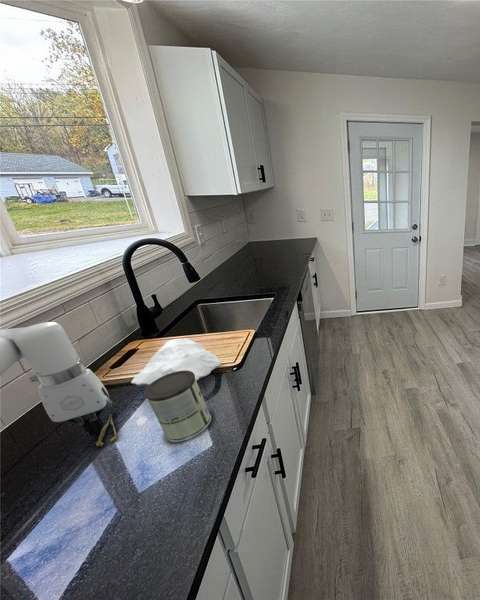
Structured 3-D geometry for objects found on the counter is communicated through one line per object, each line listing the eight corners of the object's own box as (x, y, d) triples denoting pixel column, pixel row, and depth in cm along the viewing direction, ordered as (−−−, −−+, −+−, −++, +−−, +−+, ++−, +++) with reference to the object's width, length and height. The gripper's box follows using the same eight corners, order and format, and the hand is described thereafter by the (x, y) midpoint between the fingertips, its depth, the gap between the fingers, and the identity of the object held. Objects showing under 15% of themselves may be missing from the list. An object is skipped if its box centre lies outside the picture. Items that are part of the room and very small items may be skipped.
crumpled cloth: (132, 419, 83) (124, 390, 80) (133, 363, 109) (128, 339, 106) (230, 391, 97) (226, 365, 94) (211, 347, 123) (208, 326, 120)
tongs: (118, 413, 88) (114, 408, 87) (120, 441, 79) (116, 435, 78) (98, 421, 86) (95, 416, 85) (98, 451, 77) (94, 445, 76)
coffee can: (159, 431, 81) (137, 387, 75) (201, 407, 88) (184, 365, 82) (175, 449, 75) (153, 403, 69) (218, 422, 82) (201, 378, 77)
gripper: (9, 393, 68) (52, 454, 75) (98, 370, 74) (129, 428, 81) (26, 376, 74) (64, 434, 81) (107, 355, 80) (135, 411, 87)
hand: (97, 431), depth 81 cm, fingers closed
